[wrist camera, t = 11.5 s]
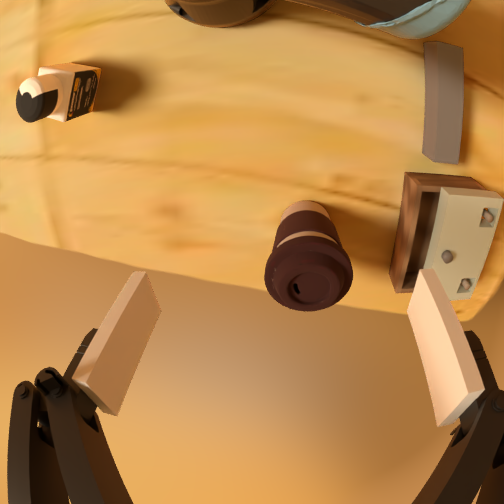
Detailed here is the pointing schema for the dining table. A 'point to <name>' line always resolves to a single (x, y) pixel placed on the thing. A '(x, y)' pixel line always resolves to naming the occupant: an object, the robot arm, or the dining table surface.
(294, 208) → the coffee cup
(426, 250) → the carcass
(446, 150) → the block
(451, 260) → the door
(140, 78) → the dining table surface
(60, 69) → the medicine bottle
